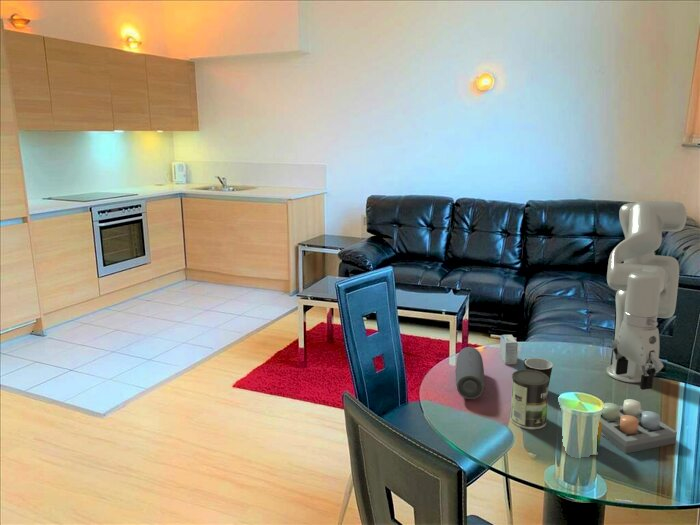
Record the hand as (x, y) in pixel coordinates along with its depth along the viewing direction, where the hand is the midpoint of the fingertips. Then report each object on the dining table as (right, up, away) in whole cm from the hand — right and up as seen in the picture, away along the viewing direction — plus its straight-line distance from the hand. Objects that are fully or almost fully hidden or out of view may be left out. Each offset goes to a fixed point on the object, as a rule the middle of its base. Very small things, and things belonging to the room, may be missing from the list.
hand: (633, 380), depth 143 cm
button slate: (+7, -13, +5) cm, 16 cm away
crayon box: (-11, -19, +2) cm, 22 cm away
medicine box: (-17, -5, +57) cm, 60 cm away
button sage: (-1, -12, +10) cm, 16 cm away
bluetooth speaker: (-35, -10, +38) cm, 53 cm away
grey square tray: (+3, -16, +9) cm, 19 cm away
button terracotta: (+1, -14, +4) cm, 15 cm away
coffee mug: (-14, -11, +35) cm, 39 cm away
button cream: (+6, -12, +12) cm, 18 cm away
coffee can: (-23, -16, +16) cm, 32 cm away
